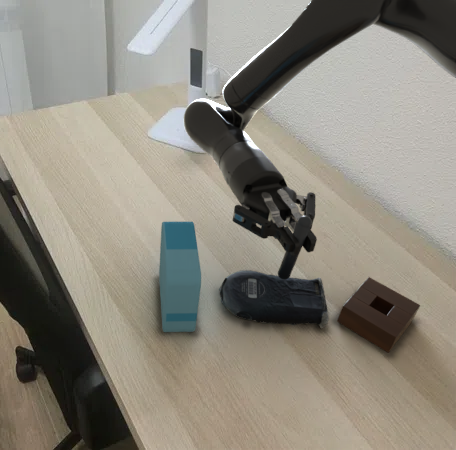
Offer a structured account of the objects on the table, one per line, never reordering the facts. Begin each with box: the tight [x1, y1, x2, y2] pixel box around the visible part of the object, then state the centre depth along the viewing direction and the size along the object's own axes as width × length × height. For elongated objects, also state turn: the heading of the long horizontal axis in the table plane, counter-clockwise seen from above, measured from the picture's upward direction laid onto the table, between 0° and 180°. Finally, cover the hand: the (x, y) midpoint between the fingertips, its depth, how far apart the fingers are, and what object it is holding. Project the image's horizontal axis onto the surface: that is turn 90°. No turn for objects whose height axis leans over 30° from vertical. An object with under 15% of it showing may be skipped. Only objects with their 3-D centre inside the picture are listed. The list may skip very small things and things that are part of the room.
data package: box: [158, 221, 202, 333], centre depth 78 cm, size 12×4×12 cm, turn 2°
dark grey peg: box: [277, 215, 313, 280], centre depth 77 cm, size 2×2×13 cm
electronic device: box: [218, 269, 330, 329], centre depth 81 cm, size 9×6×15 cm
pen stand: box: [336, 276, 421, 353], centre depth 80 cm, size 8×8×4 cm
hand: (304, 248), depth 74 cm, fingers closed on dark grey peg, 2 cm apart
